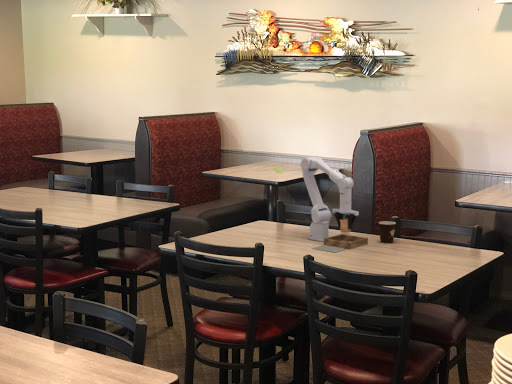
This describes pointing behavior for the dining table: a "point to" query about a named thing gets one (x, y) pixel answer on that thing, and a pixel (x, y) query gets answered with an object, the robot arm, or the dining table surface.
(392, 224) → the coffee mug
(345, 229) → the terracotta pot
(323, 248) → the rubber mat
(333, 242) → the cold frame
